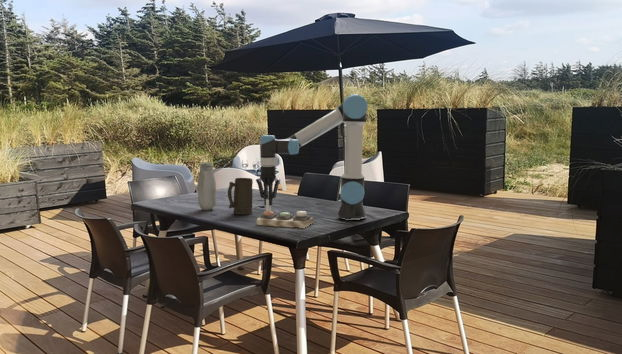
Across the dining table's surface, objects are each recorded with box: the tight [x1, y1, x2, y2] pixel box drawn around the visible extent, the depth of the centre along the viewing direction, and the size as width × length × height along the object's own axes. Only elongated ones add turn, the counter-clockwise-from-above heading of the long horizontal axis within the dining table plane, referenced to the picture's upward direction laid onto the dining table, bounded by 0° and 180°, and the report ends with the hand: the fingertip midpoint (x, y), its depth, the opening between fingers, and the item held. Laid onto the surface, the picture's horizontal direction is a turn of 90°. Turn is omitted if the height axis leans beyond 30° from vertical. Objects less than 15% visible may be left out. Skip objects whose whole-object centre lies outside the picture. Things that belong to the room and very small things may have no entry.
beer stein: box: [227, 177, 254, 215], centre depth 287 cm, size 15×11×20 cm
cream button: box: [296, 210, 307, 217], centre depth 257 cm, size 5×5×2 cm
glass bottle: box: [197, 161, 217, 211], centre depth 300 cm, size 10×10×28 cm
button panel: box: [256, 212, 314, 229], centre depth 260 cm, size 26×12×4 cm, turn 70°
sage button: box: [279, 211, 291, 217], centre depth 260 cm, size 5×5×2 cm
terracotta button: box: [263, 210, 275, 216], centre depth 263 cm, size 5×5×2 cm
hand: (268, 211), depth 263 cm, fingers closed
